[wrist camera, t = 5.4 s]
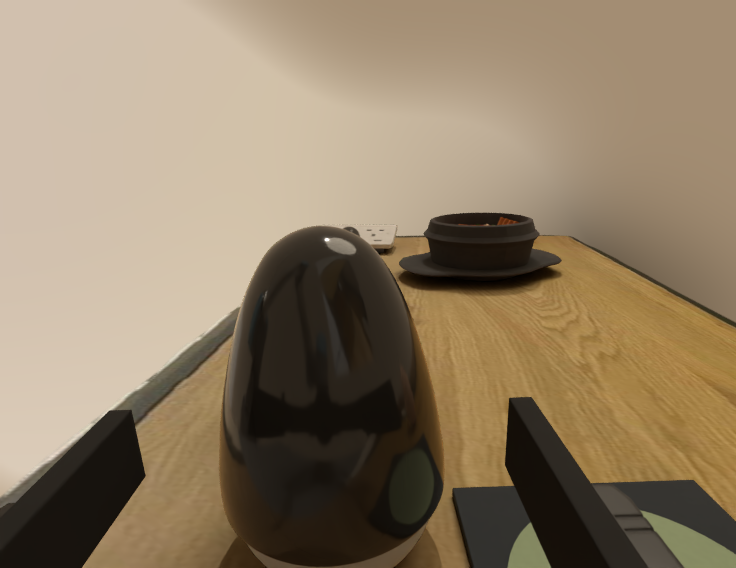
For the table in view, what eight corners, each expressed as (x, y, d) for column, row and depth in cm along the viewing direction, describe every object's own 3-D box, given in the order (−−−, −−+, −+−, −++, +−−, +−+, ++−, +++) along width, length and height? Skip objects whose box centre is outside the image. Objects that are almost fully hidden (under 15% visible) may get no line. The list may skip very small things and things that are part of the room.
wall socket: (397, 236, 94) (395, 218, 93) (402, 261, 81) (401, 241, 79) (313, 243, 95) (310, 225, 93) (304, 270, 81) (301, 250, 79)
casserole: (517, 253, 79) (520, 207, 77) (589, 279, 62) (596, 220, 59) (385, 266, 74) (384, 216, 71) (423, 298, 56) (423, 234, 54)
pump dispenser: (446, 469, 25) (451, 208, 21) (437, 664, 16) (442, 254, 11) (283, 451, 28) (258, 211, 23) (186, 614, 18) (112, 252, 14)
